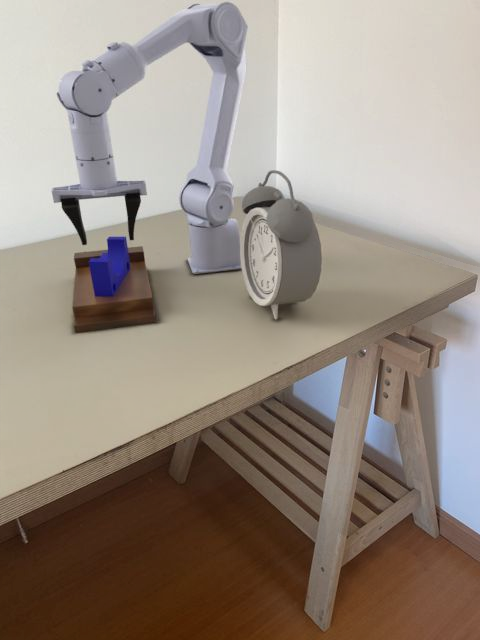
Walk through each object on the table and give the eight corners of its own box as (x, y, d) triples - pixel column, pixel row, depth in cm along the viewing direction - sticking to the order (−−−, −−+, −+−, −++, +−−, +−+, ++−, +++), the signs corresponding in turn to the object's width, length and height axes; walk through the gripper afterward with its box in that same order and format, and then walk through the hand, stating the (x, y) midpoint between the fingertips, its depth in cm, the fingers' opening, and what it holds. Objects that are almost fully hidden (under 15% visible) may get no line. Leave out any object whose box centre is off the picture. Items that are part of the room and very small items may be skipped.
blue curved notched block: (106, 268, 102) (100, 236, 99) (130, 268, 101) (126, 236, 98) (85, 296, 91) (79, 261, 88) (113, 296, 91) (107, 261, 88)
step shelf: (145, 269, 109) (142, 246, 106) (156, 322, 89) (152, 294, 87) (79, 276, 106) (74, 252, 104) (75, 332, 87) (69, 304, 84)
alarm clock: (237, 291, 99) (231, 163, 88) (281, 282, 102) (281, 158, 91) (275, 331, 86) (274, 187, 75) (325, 320, 89) (331, 180, 78)
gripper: (43, 165, 82) (62, 253, 89) (143, 158, 85) (153, 244, 92) (47, 156, 88) (64, 239, 95) (140, 150, 91) (150, 230, 98)
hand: (108, 240), depth 94 cm, fingers open, 7 cm apart
